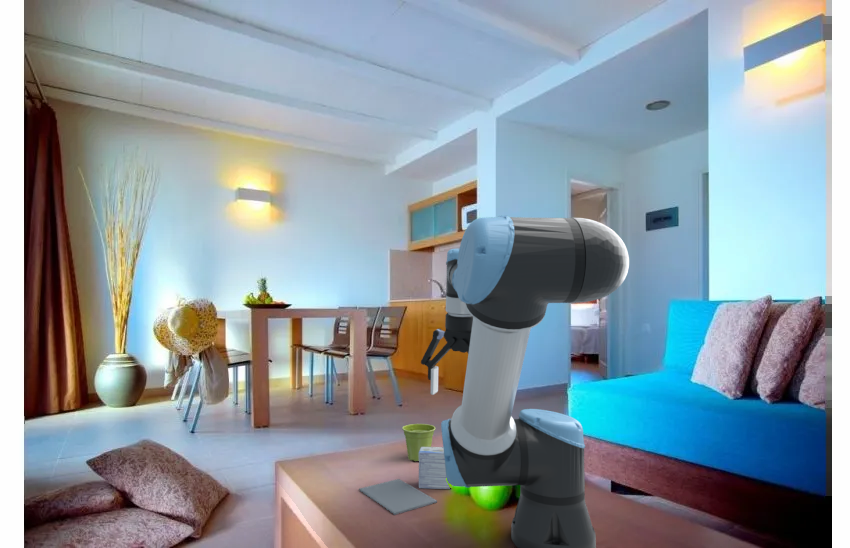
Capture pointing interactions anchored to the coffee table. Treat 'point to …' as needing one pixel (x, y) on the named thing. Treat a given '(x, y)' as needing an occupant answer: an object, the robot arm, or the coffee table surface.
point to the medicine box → (432, 468)
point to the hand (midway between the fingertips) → (459, 398)
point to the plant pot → (417, 438)
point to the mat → (397, 496)
